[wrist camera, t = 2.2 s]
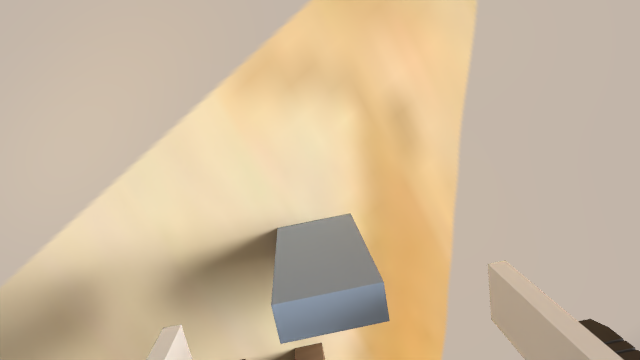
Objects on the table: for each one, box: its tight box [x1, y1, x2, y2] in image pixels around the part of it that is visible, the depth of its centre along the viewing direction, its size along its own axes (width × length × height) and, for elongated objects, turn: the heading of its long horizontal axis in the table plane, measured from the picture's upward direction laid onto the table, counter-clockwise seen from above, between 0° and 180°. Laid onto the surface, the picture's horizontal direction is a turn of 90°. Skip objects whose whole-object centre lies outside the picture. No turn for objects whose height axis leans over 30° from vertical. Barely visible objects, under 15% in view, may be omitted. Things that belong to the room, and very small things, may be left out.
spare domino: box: [271, 214, 389, 344], centre depth 21 cm, size 2×5×9 cm, turn 100°
